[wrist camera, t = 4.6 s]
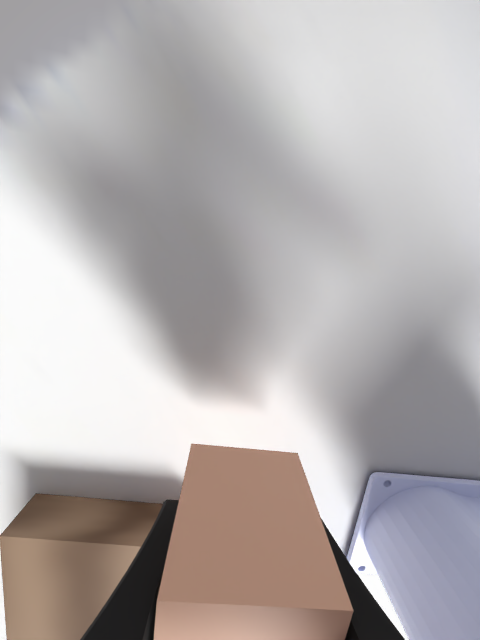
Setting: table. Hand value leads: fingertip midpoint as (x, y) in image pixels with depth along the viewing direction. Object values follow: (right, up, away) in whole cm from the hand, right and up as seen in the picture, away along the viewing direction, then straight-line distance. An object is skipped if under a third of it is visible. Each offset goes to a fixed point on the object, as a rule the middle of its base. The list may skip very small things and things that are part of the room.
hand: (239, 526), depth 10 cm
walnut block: (-9, -9, +8) cm, 15 cm away
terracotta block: (0, 0, +1) cm, 1 cm away
